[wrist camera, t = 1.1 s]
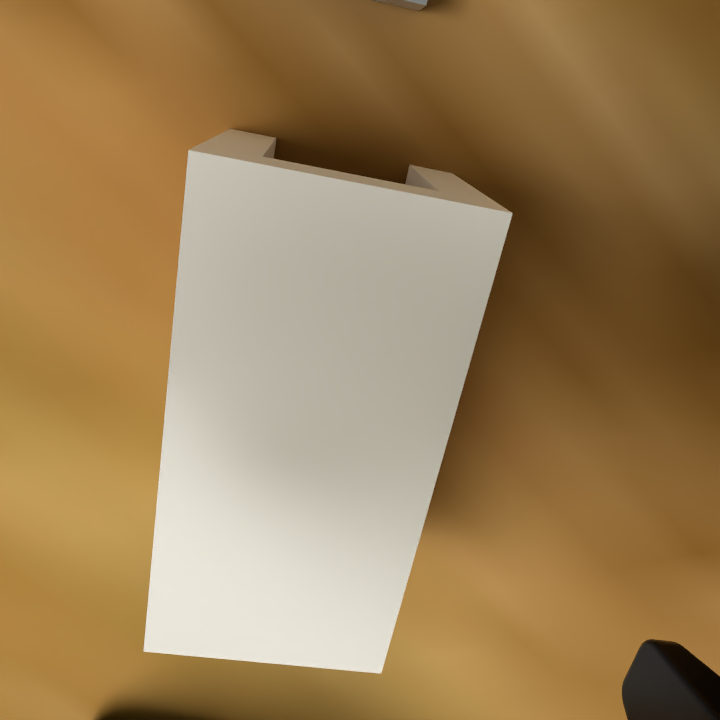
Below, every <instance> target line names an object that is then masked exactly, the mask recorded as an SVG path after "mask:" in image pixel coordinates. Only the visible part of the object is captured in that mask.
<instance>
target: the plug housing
mask: <svg viewBox="0 0 720 720" xmlns="http://www.w3.org/2000/svg"><path fill="white" fill-rule="evenodd" d="M275 145H276V138H274V137H269V136H264V135H259V134H254V133H249V132H245V131H240V130H235V129H229V130H227V131H225V132H223V133H221V134H219V135H217V136H215V137H213V138H211V139H209V140H207V141H205V142H203V143H201V144H199V145H198V146H196V147H194V148H192V149H190V150H189V151H188V162H187V174H186V185H185V196H184V207H183V218H182V229H181V240H180V252H179V263H178V274H177V285H176V296H175V307H174V318H173V330H172V341H171V352H170V363H169V374H168V385H167V396H166V408H165V419H164V430H163V441H162V452H161V463H160V474H159V486H158V497H157V508H156V519H155V530H154V541H153V552H152V564H151V575H150V586H149V597H148V608H147V619H146V631H145V642H144V652H154V653H165V654H176V655H187V656H197V657H208V658H219V659H230V660H241V661H252V662H262V663H273V664H284V665H295V666H306V667H317V668H327V669H338V670H349V671H360V672H371V673H381V672H382V668H383V665H384V661H385V658H386V654H387V651H388V647H389V644H390V640H391V637H392V633H393V630H394V626H395V623H396V619H397V616H398V612H399V609H400V605H401V602H402V598H403V595H404V591H405V588H406V584H407V581H408V578H409V574H410V571H411V567H412V564H413V560H414V557H415V553H416V550H417V546H418V543H419V539H420V536H421V532H422V529H423V525H424V522H425V518H426V515H427V511H428V508H429V504H430V501H431V497H432V494H433V490H434V487H435V483H436V480H437V476H438V473H439V469H440V466H441V462H442V459H443V455H444V452H445V448H446V445H447V441H448V438H449V434H450V431H451V427H452V424H453V420H454V417H455V413H456V410H457V406H458V403H459V399H460V396H461V392H462V389H463V385H464V382H465V378H466V375H467V371H468V368H469V364H470V361H471V357H472V354H473V350H474V347H475V343H476V340H477V336H478V333H479V329H480V326H481V322H482V319H483V315H484V312H485V308H486V305H487V301H488V298H489V294H490V291H491V287H492V284H493V280H494V277H495V273H496V270H497V266H498V263H499V259H500V256H501V252H502V249H503V245H504V242H505V238H506V235H507V232H508V228H509V225H510V221H511V218H512V214H513V213H512V212H510V211H509V210H507V209H506V208H504V207H503V206H501V205H500V204H498V203H496V202H495V201H493V200H492V199H490V198H489V197H487V196H486V195H484V194H483V193H481V192H480V191H478V190H477V189H475V188H474V187H472V186H471V185H469V184H468V183H466V182H465V181H463V180H462V179H460V178H459V177H457V176H456V175H454V174H453V173H449V172H444V171H439V170H434V169H429V168H424V167H419V166H414V165H409V169H408V174H407V178H406V183H405V184H400V183H395V182H390V181H385V180H380V179H375V178H370V177H365V176H359V175H354V174H349V173H344V172H339V171H334V170H329V169H324V168H319V167H314V166H309V165H304V164H298V163H293V162H288V161H283V160H278V159H274V153H275Z"/></svg>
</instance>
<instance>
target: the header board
mask: <svg viewBox="0 0 720 720" xmlns="http://www.w3.org/2000/svg"><path fill="white" fill-rule="evenodd" d="M374 1H378V2H382V3H387V4H391V5H395V6H399V7H404V8H408V9H412V10H416V11H420V10H421V9H422V8H424V7H425V6H426V5H427V0H374Z"/></svg>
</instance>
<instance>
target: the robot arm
mask: <svg viewBox="0 0 720 720" xmlns="http://www.w3.org/2000/svg"><path fill="white" fill-rule="evenodd" d="M622 699H623V704H624V708H625V712H626V715H627V719H628V720H720V676H719V675H717V674H716V673H715V672H714V671H712V670H711V669H710V668H709V667H707V666H706V665H705V664H704V663H703V662H701V661H700V660H699V659H698V658H696V657H695V656H694V655H693V654H691V653H690V652H689V651H688V650H687V649H685V648H684V647H683V646H681V645H680V644H678V643H676V642H672V641H663V640H654V639H650V640H646V641H645V642H644V643H642V645H641V646H640V648H639V650H638V652H637V654H636V656H635V658H634V660H633V662H632V664H631V666H630V668H629V671H628V673H627V675H626V677H625V679H624V681H623V686H622Z"/></svg>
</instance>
